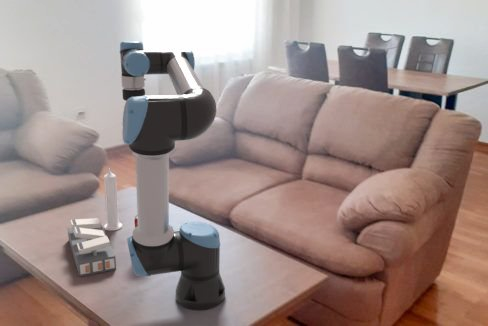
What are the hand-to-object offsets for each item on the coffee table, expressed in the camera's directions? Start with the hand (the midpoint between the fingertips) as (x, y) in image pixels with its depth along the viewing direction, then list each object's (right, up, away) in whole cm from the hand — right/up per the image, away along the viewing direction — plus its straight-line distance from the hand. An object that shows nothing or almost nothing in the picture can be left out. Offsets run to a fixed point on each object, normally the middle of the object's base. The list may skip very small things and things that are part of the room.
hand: (136, 154), depth 174 cm
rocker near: (-13, -30, -9) cm, 34 cm away
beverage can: (+3, -36, +2) cm, 36 cm away
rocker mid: (-16, -28, -1) cm, 32 cm away
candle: (-14, -29, +23) cm, 39 cm away
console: (-17, -35, +1) cm, 39 cm away
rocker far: (-20, -25, +7) cm, 33 cm away
